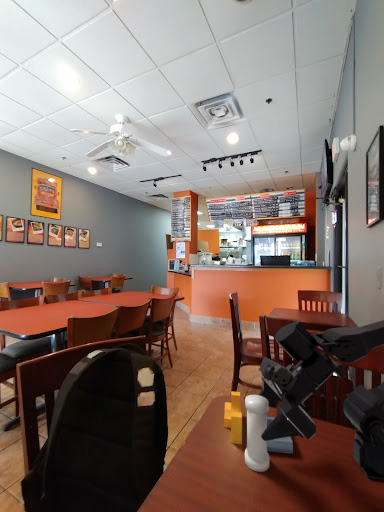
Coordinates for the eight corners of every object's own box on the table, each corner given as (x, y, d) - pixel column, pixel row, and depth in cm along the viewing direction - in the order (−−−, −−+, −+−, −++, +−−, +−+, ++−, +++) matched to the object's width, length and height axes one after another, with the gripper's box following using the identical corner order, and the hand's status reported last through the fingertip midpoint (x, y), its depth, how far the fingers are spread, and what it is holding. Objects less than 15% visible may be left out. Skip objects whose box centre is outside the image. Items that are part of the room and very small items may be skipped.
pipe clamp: (224, 413, 70) (225, 390, 70) (240, 415, 69) (240, 392, 70) (223, 442, 58) (223, 415, 59) (241, 445, 58) (241, 417, 58)
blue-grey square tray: (283, 427, 64) (282, 418, 64) (292, 453, 55) (292, 442, 55) (248, 424, 65) (248, 415, 65) (252, 449, 56) (252, 438, 56)
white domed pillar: (267, 453, 55) (266, 395, 55) (271, 473, 49) (271, 408, 50) (243, 451, 55) (243, 393, 56) (245, 470, 50) (246, 406, 51)
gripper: (270, 335, 63) (227, 377, 63) (299, 364, 44) (238, 423, 44) (300, 367, 62) (257, 409, 62) (343, 410, 43) (281, 470, 43)
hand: (257, 423), depth 53 cm, fingers open, 9 cm apart
